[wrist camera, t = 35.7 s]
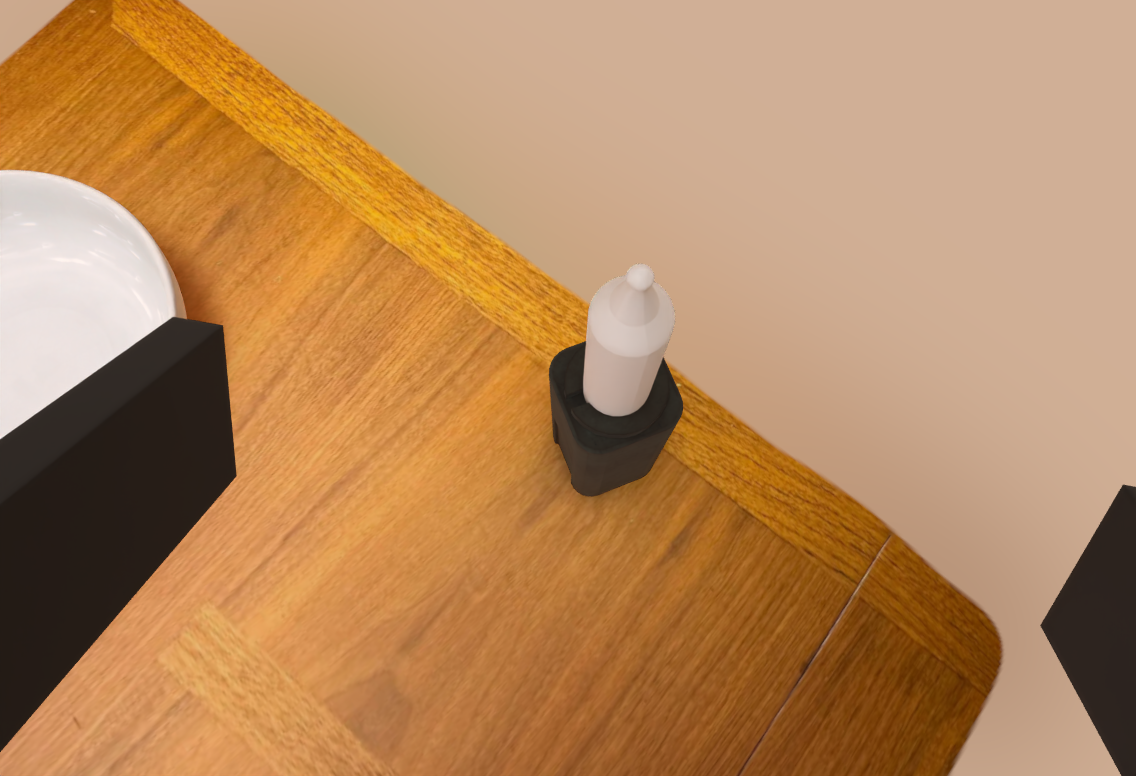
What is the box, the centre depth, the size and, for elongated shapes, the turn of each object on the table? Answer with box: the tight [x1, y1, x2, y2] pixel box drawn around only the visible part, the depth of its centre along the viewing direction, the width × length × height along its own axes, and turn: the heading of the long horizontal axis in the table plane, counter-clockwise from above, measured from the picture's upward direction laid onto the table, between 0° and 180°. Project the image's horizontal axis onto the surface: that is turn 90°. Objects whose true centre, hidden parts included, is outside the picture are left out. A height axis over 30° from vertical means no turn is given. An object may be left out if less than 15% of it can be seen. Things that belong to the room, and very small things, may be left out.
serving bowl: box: [0, 170, 187, 439], centre depth 45 cm, size 21×21×7 cm
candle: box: [549, 264, 683, 496], centre depth 35 cm, size 5×5×25 cm
